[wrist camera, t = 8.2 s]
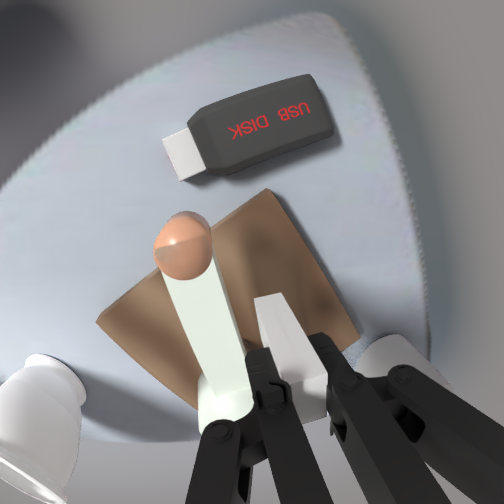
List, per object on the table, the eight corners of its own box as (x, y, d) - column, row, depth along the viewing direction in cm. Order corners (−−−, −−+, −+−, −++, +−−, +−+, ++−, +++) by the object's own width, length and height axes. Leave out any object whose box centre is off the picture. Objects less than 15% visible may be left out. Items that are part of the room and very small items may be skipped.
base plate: (215, 413, 28) (216, 423, 26) (100, 313, 22) (95, 322, 21) (354, 329, 27) (360, 337, 25) (266, 188, 21) (270, 190, 20)
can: (385, 378, 31) (432, 441, 20) (340, 380, 29) (386, 456, 18) (412, 331, 29) (473, 390, 18) (369, 327, 27) (434, 401, 16)
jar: (98, 370, 24) (60, 490, 10) (93, 420, 26) (70, 515, 12) (18, 329, 21) (-49, 421, 7) (24, 386, 23) (-17, 468, 9)
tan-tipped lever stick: (288, 399, 20) (301, 435, 17) (213, 417, 20) (216, 455, 16) (238, 194, 15) (249, 205, 11) (127, 226, 14) (104, 248, 11)
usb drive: (327, 136, 21) (342, 133, 18) (187, 191, 21) (185, 195, 18) (304, 78, 19) (316, 69, 16) (161, 130, 19) (154, 126, 16)
